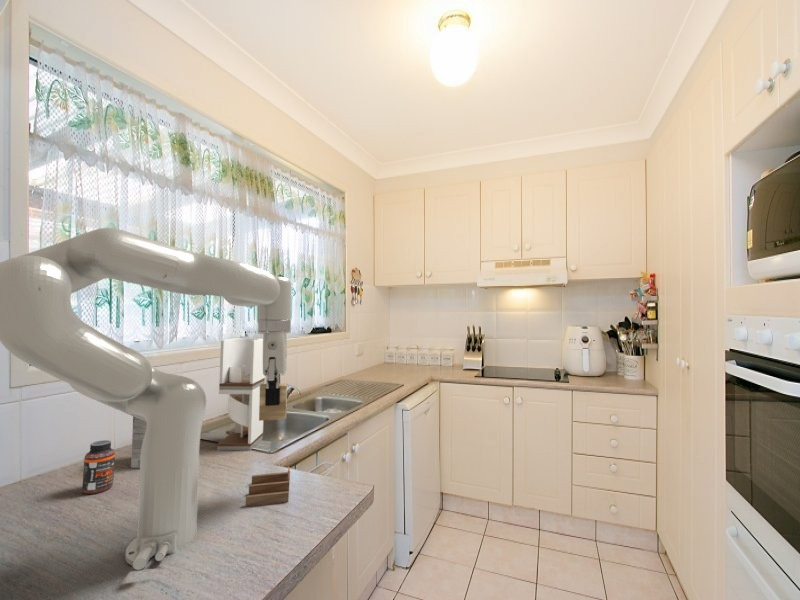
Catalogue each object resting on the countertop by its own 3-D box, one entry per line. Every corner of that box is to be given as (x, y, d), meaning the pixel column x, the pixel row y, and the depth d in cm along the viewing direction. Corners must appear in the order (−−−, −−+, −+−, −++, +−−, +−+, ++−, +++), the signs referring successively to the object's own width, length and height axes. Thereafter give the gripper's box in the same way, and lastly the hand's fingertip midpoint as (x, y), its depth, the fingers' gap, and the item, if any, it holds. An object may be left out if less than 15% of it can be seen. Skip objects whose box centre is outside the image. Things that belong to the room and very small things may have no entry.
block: (285, 419, 87) (286, 385, 88) (259, 420, 86) (259, 386, 86) (286, 415, 90) (286, 383, 91) (260, 417, 89) (261, 384, 89)
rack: (288, 508, 82) (288, 483, 83) (245, 513, 80) (246, 488, 80) (289, 485, 93) (290, 463, 94) (251, 489, 91) (252, 467, 91)
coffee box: (148, 455, 111) (151, 402, 112) (171, 455, 112) (173, 402, 112) (129, 468, 102) (132, 410, 103) (153, 467, 103) (156, 410, 103)
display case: (232, 438, 128) (235, 338, 130) (262, 438, 129) (265, 338, 130) (217, 450, 117) (220, 340, 118) (250, 450, 117) (254, 340, 119)
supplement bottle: (95, 496, 86) (98, 447, 87) (75, 493, 88) (77, 445, 88) (119, 485, 92) (121, 439, 93) (100, 482, 93) (102, 437, 94)
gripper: (289, 328, 82) (287, 411, 81) (292, 325, 98) (290, 395, 97) (253, 329, 80) (251, 413, 79) (262, 326, 96) (261, 396, 95)
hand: (273, 402), depth 88 cm, fingers closed on block, 3 cm apart
